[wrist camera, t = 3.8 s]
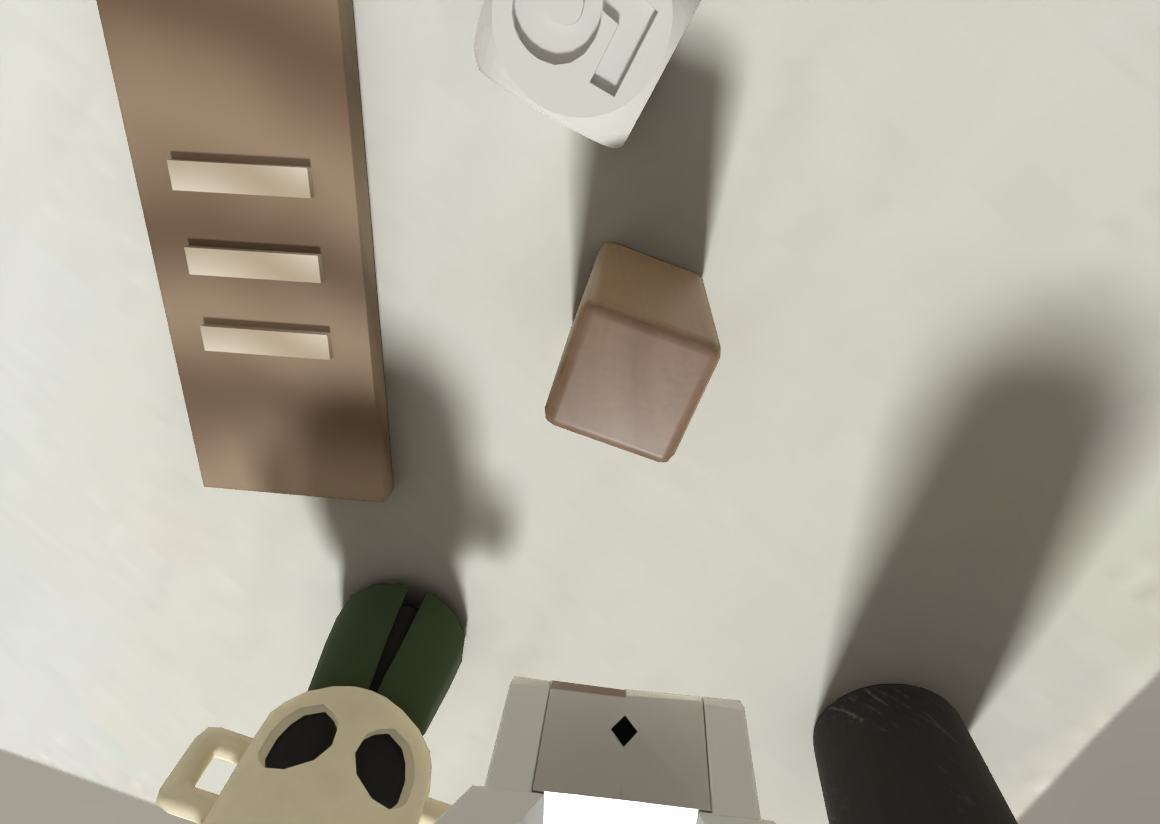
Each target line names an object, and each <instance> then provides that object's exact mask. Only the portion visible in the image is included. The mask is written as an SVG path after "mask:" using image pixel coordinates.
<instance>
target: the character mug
mask: <svg viewBox="0 0 1160 824" xmlns="http://www.w3.org/2000/svg"><path fill="white" fill-rule="evenodd" d="M407 590H408V586H405V585H403V584H380V585H373V586H371V587H369V588H366V589H364V590H362V591H360V592H358V593H356V594H354V595H352V596H351V597H350V598H349V600H348V601H347V603H346V604H345V606H344V607H343V609H342V610H341V612H340V614H339V615H338V617H337V618H336V621H335V623H334V625H333V627H332V630H331V632H330V634H329V637H328V639H327V641H326V643H325V646H324V649H323V651H322V654H321V657H320V659H319V662H318V665H317V668H316V670H315V673H314V676H313V678H312V681H311V684H310V686H309V689H308V691H307V692H305V693H303V694H301V695H299V696H297V697H295V698H293V699H291V700H288V701H286V702H285V703H283V704H282V705H280V706H279V707H278V708H276V709H275V710H273V711H272V712H271V713H270V714H269V716H268V717H267V719H266V720H265V722H264V723H263V725H262V726H261V728H260V729H259V731H258V732H257V734H256V735H255V737H254V738H250V737H247V736H244V735H241V734H238V733H235V732H233V731H230V730H227V729H224V728H217V727H208V728H207V729H206V730H205V731H203V732H202V733H201V734H200V735H199V736H197V737H196V738H195V739H194V741H193V742H192V743H191V745H190V746H189V748H188V749H187V751H186V752H185V754H184V755H183V756H182V758H181V759H180V761H179V762H178V764H177V765H176V766H175V768H174V769H173V771H172V772H171V774H170V775H169V776H168V778H167V779H166V781H165V782H164V784H163V785H162V787H161V788H160V790H159V793H158V797H157V800H156V803H157V804H158V805H159V806H160V807H161V808H163V809H164V810H165V811H166V812H168V813H169V814H172V815H175V816H178V817H181V818H184V819H187V820H190V821H193V822H196V823H199V824H433V823H434V822H435V821H436V820H437V819H438V818H439V817H440V816H441V815H443V814H444V813H445V812H446V811H447V810H448V809H449V808H450V807H451V806H452V805H449V804H447V803H444V802H441V801H438V800H435V799H432V798H429V797H428V795H429V792H430V781H431V769H432V766H431V757H430V751H429V749H428V747H427V745H426V743H425V740H424V738H423V735H424V734H425V733H426V731H427V729H428V727H429V725H430V723H431V721H432V719H433V718H434V716H435V714H436V712H437V710H438V708H439V706H440V704H441V703H442V701H443V699H444V697H445V695H446V693H447V691H448V690H449V688H450V685H451V683H452V681H453V679H454V677H455V675H456V673H457V670H458V668H459V666H460V664H461V662H462V654H463V647H464V639H465V635H464V633H463V631H462V629H461V627H460V625H459V623H458V620H457V618H456V616H455V614H454V613H453V612H452V611H451V610H450V609H449V608H448V607H447V606H445V605H444V604H443V603H442V602H441V601H440V600H438V599H437V598H436V597H435V596H434V595H431V594H426V596H425V598H424V600H423V602H422V604H421V606H420V608H419V610H418V611H416V610H414V609H413V608H411V607H407V606H401V604H402V602H403V599H404V597H405V594H406V592H407ZM212 758H220V759H223V760H226V761H229V762H232V763H235V764H238V765H237V766H236V768H235V770H234V771H233V773H232V775H231V776H230V778H229V780H228V781H227V783H226V785H225V786H224V788H223V790H222V791H221V793H220V795H217V794H214V793H211V792H208V791H205V790H201V789H198V788H195V784H196V783H197V781H198V780H199V778H200V777H201V775H202V774H203V772H204V771H205V769H206V768H207V766H208V764H209V763H210V761H211V760H212Z"/></svg>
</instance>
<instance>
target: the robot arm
mask: <svg viewBox="0 0 1160 824" xmlns="http://www.w3.org/2000/svg"><path fill="white" fill-rule="evenodd" d="M433 824H775V822H774V821H770V820H763V819H761V817H760V810H759V803H758V797H757V790H756V783H755V776H754V770H753V763H752V756H751V749H750V743H749V736H748V729H747V722H746V716H745V709H744V706H743V704H742V703H741V701H739V700H729V699H719V698H709V697H702V698H700V696H690V695H679V694H669V693H658V692H648V691H637V690H627V689H626V690H620V689H612V688H605V687H597V686H590V685H582V684H575V683H567V682H560V681H547V680H539V679H532V678H524V677H516V676H514V678H513V680H512V682H511V684H510V686H509V690H508V694H507V698H506V702H505V706H504V710H503V714H502V718H501V722H500V726H499V730H498V734H497V738H496V742H495V746H494V750H493V754H492V758H491V762H490V766H489V770H488V775H487V779H486V783H485V786H474V785H473V786H472V787H471V788H470V789H469V790H468V791H466V792H465V793H464V794H463V795H462V796H461V797H460V798H459V799H458V800H457V801H456V802H455V803H454V804H453V805H452V806H451V807H450V808H449V809H448V810H447V811H446V812H445V813H444V814H443V815H441V816H440V817H439V818H438V819H437V820H436V821H435V822H434V823H433Z"/></svg>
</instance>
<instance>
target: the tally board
mask: <svg viewBox="0 0 1160 824" xmlns="http://www.w3.org/2000/svg"><path fill="white" fill-rule="evenodd" d="M96 1H97V5H98V10H99V14H100V19H101V23H102V28H103V32H104V37H105V41H106V46H107V50H108V55H109V59H110V64H111V68H112V73H113V77H114V82H115V86H116V91H117V96H118V100H119V105H120V109H121V114H122V118H123V123H124V127H125V132H126V136H127V141H128V145H129V150H130V154H131V159H132V163H133V168H134V172H135V177H136V181H137V186H138V190H139V195H140V200H141V204H142V209H143V213H144V218H145V222H146V227H147V231H148V236H149V240H150V245H151V249H152V254H153V258H154V263H155V267H156V272H157V276H158V281H159V285H160V290H161V295H162V299H163V304H164V308H165V313H166V317H167V322H168V326H169V331H170V335H171V340H172V344H173V349H174V353H175V358H176V362H177V367H178V371H179V376H180V380H181V385H182V389H183V394H184V399H185V403H186V408H187V412H188V417H189V421H190V426H191V430H192V435H193V439H194V444H195V448H196V453H197V457H198V462H199V466H200V471H201V475H202V480H203V484H204V487H214V488H225V489H236V490H248V491H259V492H271V493H282V494H294V495H305V496H317V497H328V498H339V499H351V500H362V501H374V502H385V500H386V499H387V497H388V496H389V494H390V492H391V491H392V489H393V476H392V464H391V452H390V440H389V429H388V417H387V405H386V393H385V381H384V370H383V358H382V346H381V334H380V322H379V311H378V299H377V287H376V275H375V264H374V252H373V240H372V228H371V216H370V205H369V193H368V181H367V169H366V157H365V146H364V134H363V122H362V110H361V99H360V87H359V75H358V63H357V51H356V40H355V28H354V16H353V4H352V0H96Z"/></svg>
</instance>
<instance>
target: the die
mask: <svg viewBox="0 0 1160 824" xmlns="http://www.w3.org/2000/svg"><path fill="white" fill-rule="evenodd" d="M700 1H701V0H485V1H484V4H483V7H482V11H481V14H480V18H479V22H478V27H477V31H476V37H475V46H474V52H475V57H476V61H477V64H478V67H479V70H480V71H481V72H482V73H483V74H484V75H485V76H486V77H488V78H489V79H490V80H492V81H493V82H494V83H496V84H497V85H499V86H500V87H501V88H503V89H504V90H506V91H507V92H509V93H510V94H512V95H514V96H515V97H517V98H518V99H520V100H521V101H523V102H525V103H526V104H528V105H530V106H531V107H533V108H534V109H536V110H538V111H540V112H541V113H543V114H545V115H546V116H548V117H550V118H552V119H553V120H555V121H557V122H559V123H561V124H562V125H564V126H566V127H568V128H570V129H572V130H573V131H575V132H577V133H579V134H581V135H583V136H585V137H587V138H589V139H591V140H593V141H595V142H598V143H600V144H602V145H605V146H607V147H610V148H614V149H616V148H619V147H623V145H624V143H625V141H626V139H627V138H628V136H629V134H630V132H631V130H632V128H633V127H634V125H635V123H636V121H637V119H638V117H639V116H640V114H641V112H642V110H643V108H644V106H645V104H646V103H647V101H648V99H649V97H650V95H651V93H652V91H653V90H654V88H655V86H656V84H657V82H658V80H659V78H660V76H661V75H662V73H663V71H664V69H665V67H666V65H667V63H668V62H669V60H670V58H671V56H672V54H673V52H674V50H675V48H676V47H677V45H678V43H679V41H680V39H681V37H682V35H683V33H684V32H685V30H686V28H687V26H688V24H689V22H690V20H691V18H692V16H693V15H694V13H695V11H696V9H697V7H698V5H699V3H700Z"/></svg>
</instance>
